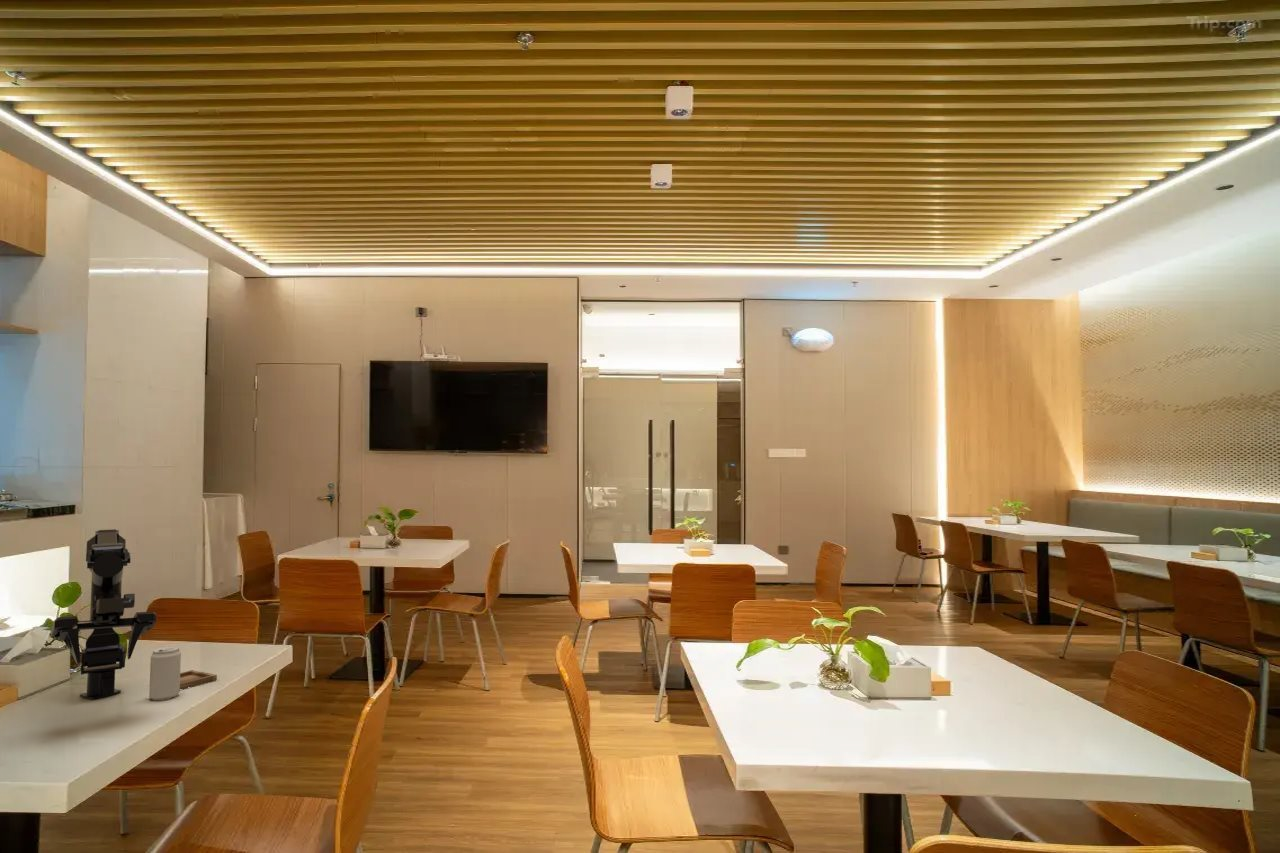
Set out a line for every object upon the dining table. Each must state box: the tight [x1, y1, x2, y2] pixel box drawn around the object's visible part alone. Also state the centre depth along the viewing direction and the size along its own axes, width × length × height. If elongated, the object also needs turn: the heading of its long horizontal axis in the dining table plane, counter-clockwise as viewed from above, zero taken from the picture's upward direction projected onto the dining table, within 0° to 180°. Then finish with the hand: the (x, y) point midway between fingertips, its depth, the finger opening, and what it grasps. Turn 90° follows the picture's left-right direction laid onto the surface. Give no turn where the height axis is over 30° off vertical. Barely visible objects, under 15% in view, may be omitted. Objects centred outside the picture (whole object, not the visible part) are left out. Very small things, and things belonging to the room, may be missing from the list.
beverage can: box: [148, 646, 182, 701], centre depth 180 cm, size 6×6×12 cm
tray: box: [180, 669, 218, 690], centre depth 192 cm, size 11×11×2 cm
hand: (104, 661), depth 159 cm, fingers open, 9 cm apart
